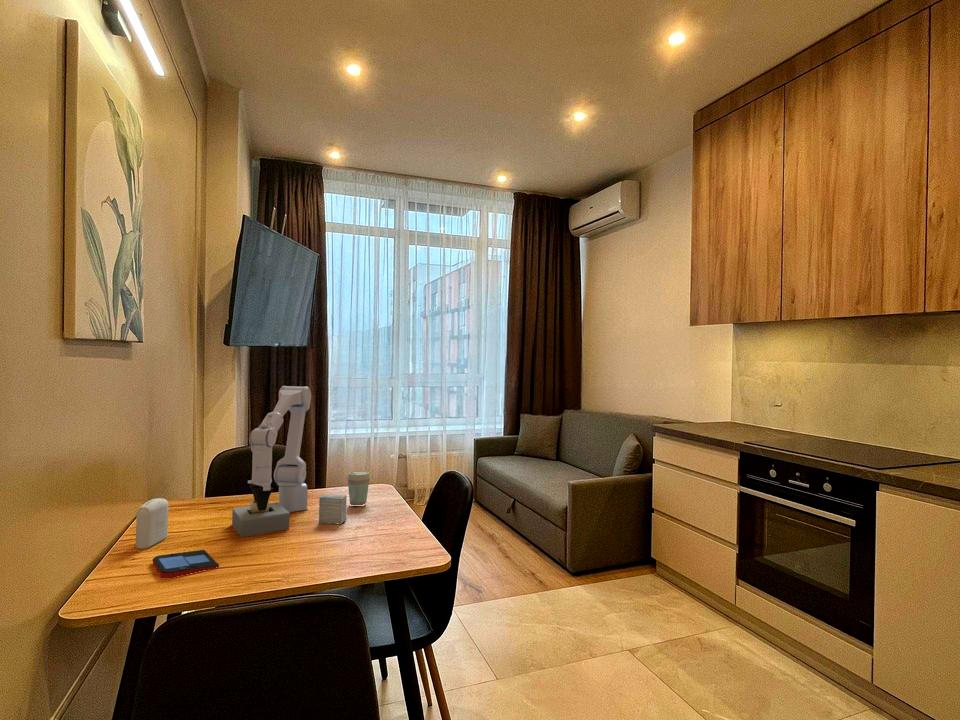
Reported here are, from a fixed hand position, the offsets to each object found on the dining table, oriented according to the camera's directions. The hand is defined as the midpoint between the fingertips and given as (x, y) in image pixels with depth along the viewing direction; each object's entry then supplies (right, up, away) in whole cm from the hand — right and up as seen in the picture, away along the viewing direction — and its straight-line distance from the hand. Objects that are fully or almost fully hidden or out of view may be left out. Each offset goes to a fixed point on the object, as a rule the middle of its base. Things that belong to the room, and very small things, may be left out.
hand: (260, 508), depth 162 cm
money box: (0, -6, 0) cm, 6 cm away
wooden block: (0, -3, 0) cm, 3 cm away
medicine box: (+21, -7, +7) cm, 23 cm away
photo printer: (-24, -5, -16) cm, 30 cm away
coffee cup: (+24, -7, +28) cm, 37 cm away
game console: (-6, -6, -31) cm, 33 cm away
